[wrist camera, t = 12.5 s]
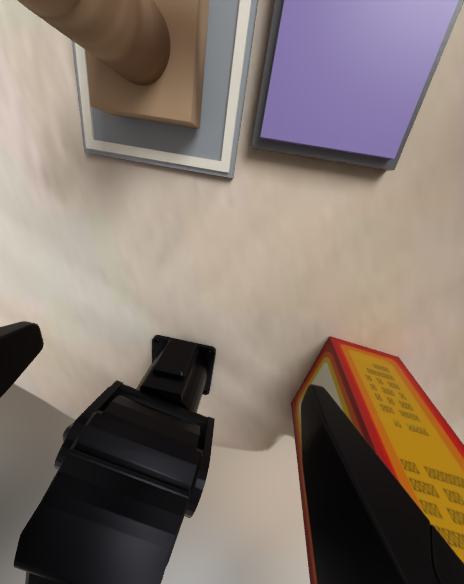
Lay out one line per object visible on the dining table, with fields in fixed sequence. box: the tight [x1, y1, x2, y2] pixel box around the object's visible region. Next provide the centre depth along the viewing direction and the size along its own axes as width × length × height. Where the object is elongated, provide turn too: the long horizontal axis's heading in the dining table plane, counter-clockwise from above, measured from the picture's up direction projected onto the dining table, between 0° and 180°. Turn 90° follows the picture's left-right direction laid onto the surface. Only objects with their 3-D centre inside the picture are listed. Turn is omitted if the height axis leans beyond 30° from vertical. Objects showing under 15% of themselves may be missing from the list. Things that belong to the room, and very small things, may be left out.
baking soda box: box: [291, 336, 464, 584], centre depth 16 cm, size 10×6×16 cm
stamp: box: [18, 0, 210, 129], centre depth 10 cm, size 6×6×10 cm
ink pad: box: [251, 0, 464, 171], centre depth 13 cm, size 9×9×2 cm
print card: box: [72, 0, 258, 178], centre depth 14 cm, size 11×11×1 cm
